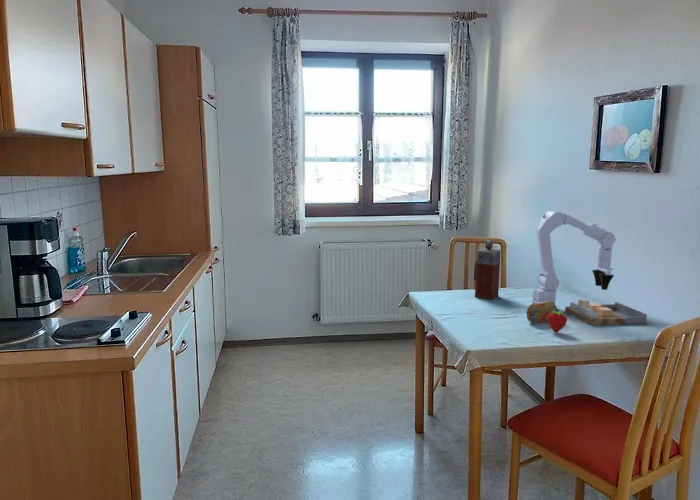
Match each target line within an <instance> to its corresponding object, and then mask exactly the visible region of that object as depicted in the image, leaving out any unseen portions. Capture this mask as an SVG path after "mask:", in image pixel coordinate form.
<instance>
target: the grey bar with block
mask: <svg viewBox="0 0 700 500" xmlns="http://www.w3.org/2000/svg"><path fill="white" fill-rule="evenodd" d="M589 303H590V300H588V299H586V298H579V299H578V301H577V302H575V301H569V307H570V308H572V309H574V310H576V311H578V312H580V313H582V314H584V315H586V316H588V317H590V318H597V312H595V311H593V310H591V309H589Z"/></svg>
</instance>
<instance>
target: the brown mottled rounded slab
mask: <svg viewBox="0 0 700 500" xmlns="http://www.w3.org/2000/svg"><path fill="white" fill-rule="evenodd" d="M557 308H558V307H557V305H556V303H555V304H554V303H553V302H548V301H545V302H540V303H533V304H532V303H531V304H530V305H529V306H528V307H527V309H526V319H527V321H528V322H529V323H530V324H535V325H539V324H545V323H548V321H547V315H548V314H550V313H553V312H550V311H556V312H558V310H557Z"/></svg>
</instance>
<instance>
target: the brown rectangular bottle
mask: <svg viewBox="0 0 700 500" xmlns="http://www.w3.org/2000/svg"><path fill="white" fill-rule="evenodd" d="M493 246H494V242H493V240H489V239H487V240H486V242H485V247H484V248H480V249H478V250H477V251H476V261H475V264H474V269H473V281H475V286H474V287H475V288H474V298H477V299H485V300H491V301H492V300H494V299H497V298H498V297H499V288H500V287H499V286H500V270H501V269H500V268H501V254H502V253H501V250H500V248H499V249H496V248H493Z"/></svg>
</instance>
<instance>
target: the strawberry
mask: <svg viewBox="0 0 700 500" xmlns="http://www.w3.org/2000/svg"><path fill="white" fill-rule="evenodd" d="M550 312H553V313H550V314H548V315H547V321H548V322H547V324H548V326H550V328H551V329H552V331H553V332H554V333H556V334H557V333H559V331H561V330H562V329H564V327H565V326H566V324H567V322H568V318H567V316H566V315H565V312H563V311H561V310H557V312H556V311H550Z"/></svg>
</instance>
